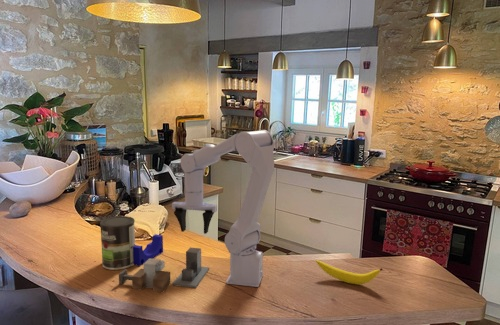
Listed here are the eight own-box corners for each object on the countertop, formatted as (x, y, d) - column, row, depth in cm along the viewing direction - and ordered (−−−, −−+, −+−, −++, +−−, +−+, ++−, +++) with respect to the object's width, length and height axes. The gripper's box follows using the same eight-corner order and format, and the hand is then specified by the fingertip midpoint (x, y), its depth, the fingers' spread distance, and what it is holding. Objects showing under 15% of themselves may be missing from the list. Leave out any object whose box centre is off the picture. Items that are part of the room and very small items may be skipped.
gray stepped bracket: (201, 270, 111) (201, 248, 110) (192, 281, 104) (192, 258, 103) (190, 269, 112) (190, 247, 111) (181, 280, 105) (180, 257, 104)
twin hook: (175, 267, 114) (174, 246, 113) (155, 288, 101) (155, 264, 100) (154, 265, 116) (153, 244, 114) (132, 285, 103) (131, 262, 102)
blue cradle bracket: (152, 249, 128) (151, 233, 127) (163, 252, 126) (162, 235, 125) (128, 263, 117) (127, 245, 116) (139, 266, 115) (139, 248, 114)
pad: (209, 269, 113) (209, 267, 113) (195, 288, 102) (195, 286, 102) (188, 266, 115) (188, 265, 115) (172, 285, 103) (172, 283, 103)
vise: (170, 283, 104) (170, 271, 104) (162, 292, 99) (162, 280, 99) (126, 278, 107) (126, 266, 106) (117, 286, 102) (116, 274, 102)
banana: (316, 273, 111) (316, 253, 110) (381, 287, 103) (383, 266, 102) (313, 277, 109) (314, 257, 108) (380, 292, 101) (382, 270, 100)
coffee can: (118, 273, 110) (115, 228, 108) (95, 265, 115) (92, 222, 113) (143, 260, 119) (141, 219, 117) (121, 254, 124) (118, 214, 122)
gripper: (167, 192, 113) (168, 234, 116) (212, 195, 110) (212, 237, 113) (176, 187, 120) (177, 226, 122) (218, 189, 117) (218, 230, 119)
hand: (194, 231), depth 118 cm, fingers open, 7 cm apart
